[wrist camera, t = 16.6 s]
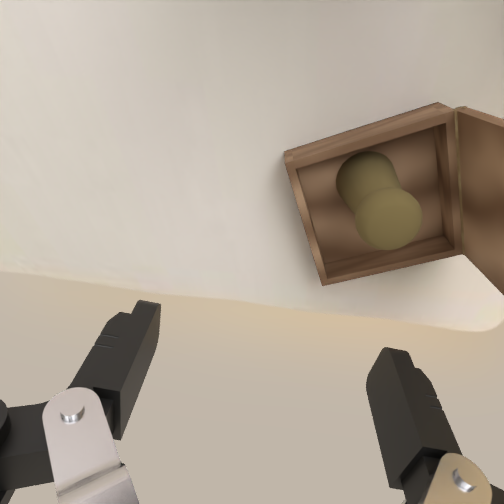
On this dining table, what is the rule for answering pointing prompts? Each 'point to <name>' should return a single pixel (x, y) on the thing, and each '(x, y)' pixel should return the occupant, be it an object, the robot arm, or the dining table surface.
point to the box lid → (481, 190)
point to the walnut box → (411, 180)
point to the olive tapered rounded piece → (378, 201)
